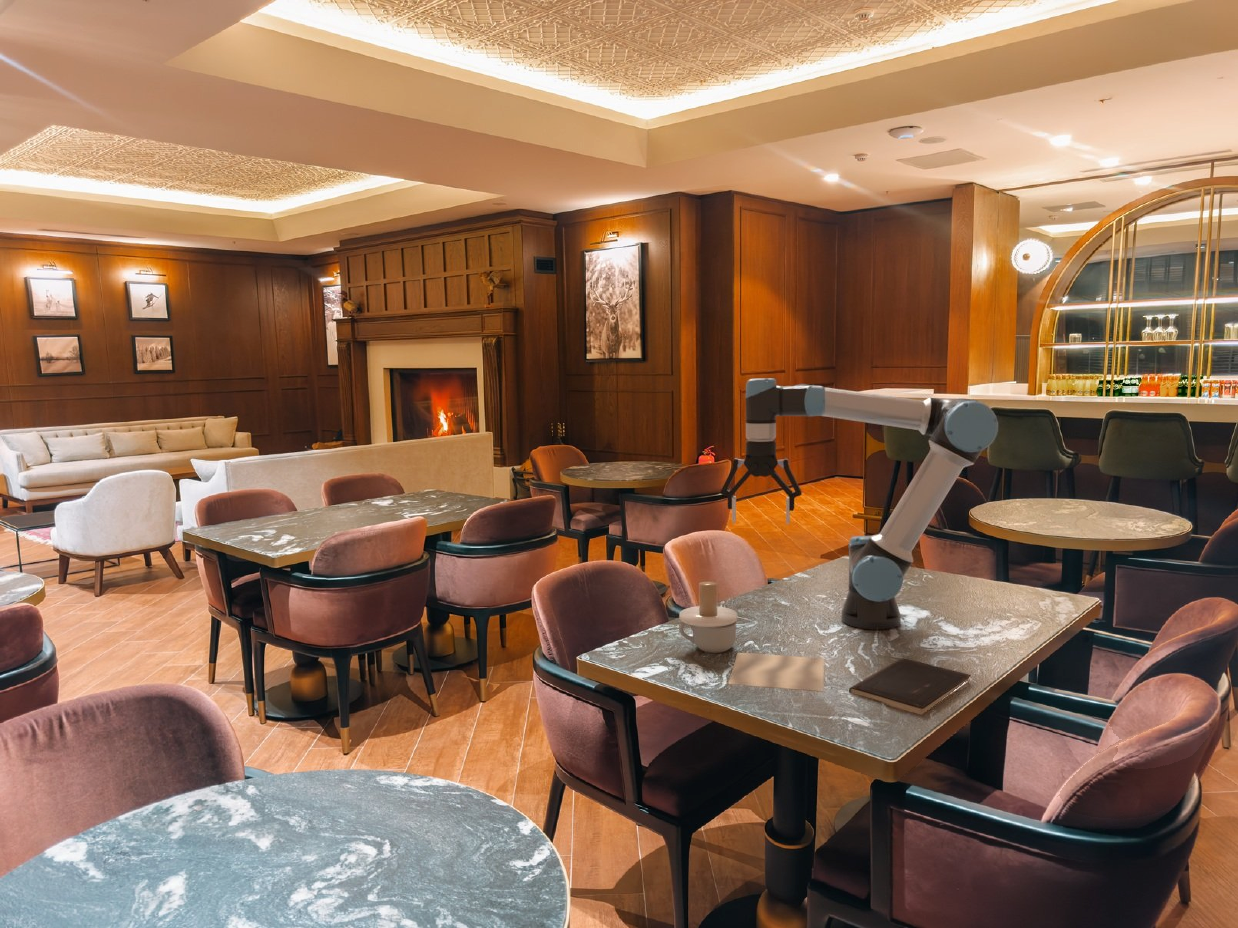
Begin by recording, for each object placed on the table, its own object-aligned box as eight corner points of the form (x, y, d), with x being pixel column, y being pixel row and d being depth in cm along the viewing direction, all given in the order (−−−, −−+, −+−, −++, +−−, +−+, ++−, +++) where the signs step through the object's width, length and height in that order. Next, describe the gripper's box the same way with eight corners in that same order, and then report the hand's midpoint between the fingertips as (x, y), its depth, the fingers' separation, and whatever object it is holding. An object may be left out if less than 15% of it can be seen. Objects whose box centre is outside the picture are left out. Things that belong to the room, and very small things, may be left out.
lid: (739, 610, 205) (739, 577, 204) (734, 628, 192) (734, 592, 191) (683, 608, 208) (683, 575, 207) (675, 625, 195) (674, 590, 194)
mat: (823, 659, 192) (823, 658, 192) (823, 692, 173) (823, 691, 173) (737, 654, 197) (737, 652, 197) (728, 685, 178) (728, 683, 178)
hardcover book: (970, 685, 177) (970, 674, 177) (922, 718, 161) (922, 707, 161) (900, 666, 188) (900, 657, 188) (848, 696, 172) (848, 686, 172)
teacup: (735, 642, 206) (735, 611, 205) (737, 657, 195) (737, 625, 194) (679, 641, 207) (679, 611, 206) (679, 657, 196) (678, 624, 195)
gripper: (811, 438, 208) (811, 521, 211) (713, 438, 214) (714, 518, 217) (811, 441, 201) (810, 526, 203) (709, 441, 207) (710, 523, 209)
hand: (760, 522), depth 210 cm, fingers open, 13 cm apart
